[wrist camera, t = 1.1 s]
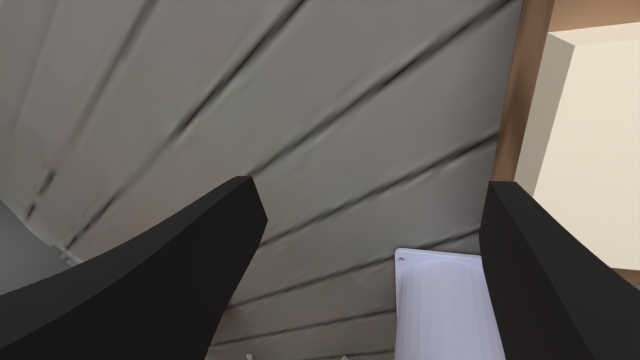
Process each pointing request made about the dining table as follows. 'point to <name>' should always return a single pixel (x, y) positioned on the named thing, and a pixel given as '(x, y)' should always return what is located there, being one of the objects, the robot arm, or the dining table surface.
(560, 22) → the brown wooden block
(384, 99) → the dining table surface
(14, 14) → the dining table surface
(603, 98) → the tile
